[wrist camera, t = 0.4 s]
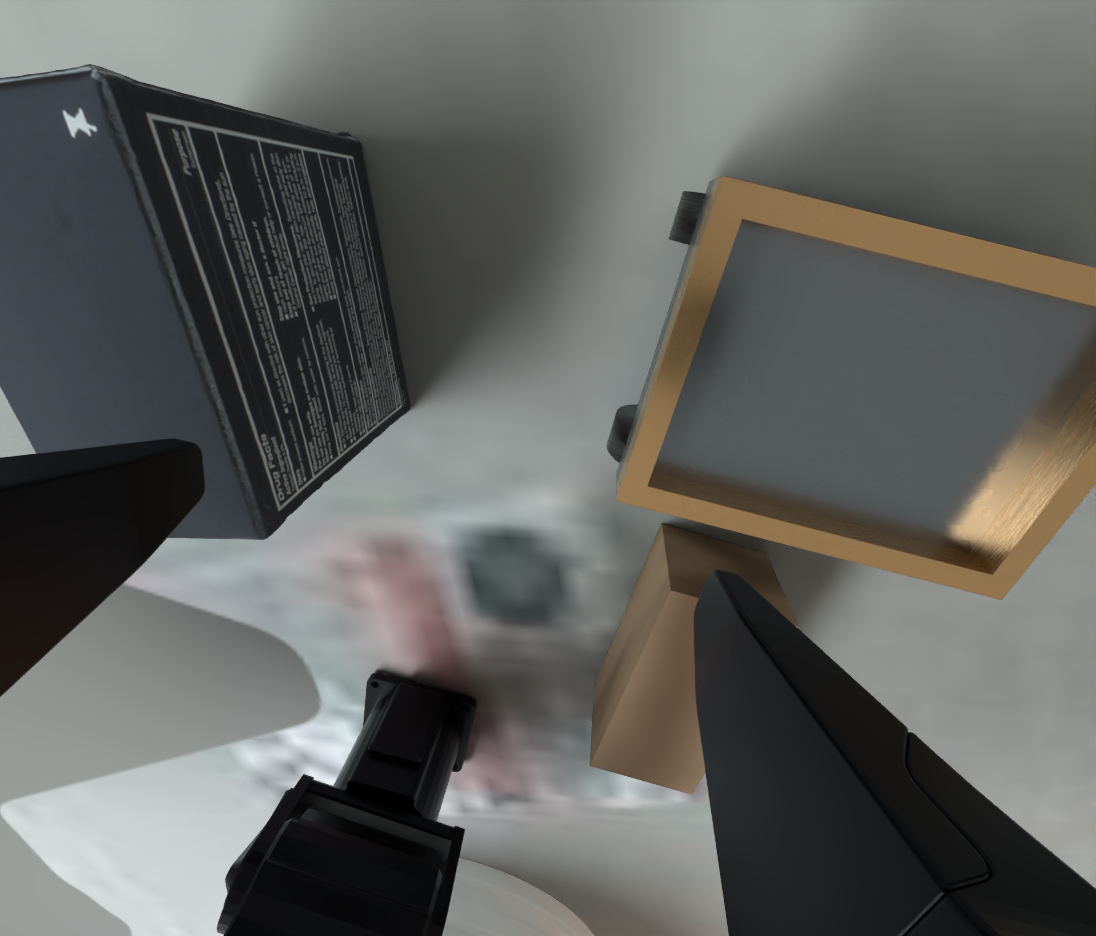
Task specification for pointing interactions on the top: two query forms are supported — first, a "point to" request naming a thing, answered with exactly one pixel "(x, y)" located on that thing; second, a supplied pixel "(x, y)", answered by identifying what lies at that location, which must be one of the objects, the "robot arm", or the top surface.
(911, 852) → the robot arm
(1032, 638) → the top surface
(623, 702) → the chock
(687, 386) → the wooden frame tray
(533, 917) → the plate stack
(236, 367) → the small box
